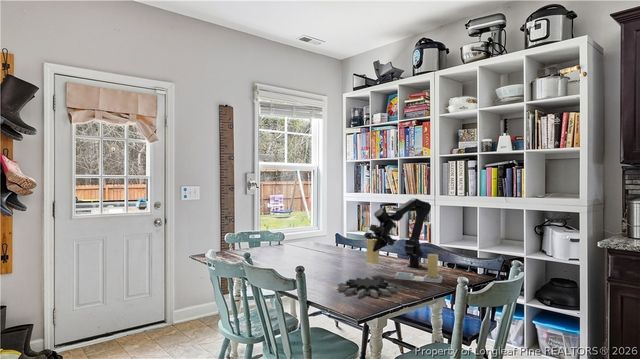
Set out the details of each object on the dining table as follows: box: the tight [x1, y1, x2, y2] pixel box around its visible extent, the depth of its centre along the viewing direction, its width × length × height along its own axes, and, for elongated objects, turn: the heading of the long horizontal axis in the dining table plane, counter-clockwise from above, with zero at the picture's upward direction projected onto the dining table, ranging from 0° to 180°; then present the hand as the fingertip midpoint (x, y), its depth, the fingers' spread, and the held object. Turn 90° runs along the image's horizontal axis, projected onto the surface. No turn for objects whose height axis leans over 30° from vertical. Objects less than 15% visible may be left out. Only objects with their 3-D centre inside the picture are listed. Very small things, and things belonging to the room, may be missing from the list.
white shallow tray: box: [393, 271, 443, 284], centre depth 199 cm, size 9×23×2 cm, turn 67°
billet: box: [366, 238, 380, 265], centre depth 212 cm, size 4×4×12 cm
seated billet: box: [427, 253, 439, 279], centre depth 196 cm, size 4×4×12 cm
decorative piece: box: [336, 276, 400, 299], centre depth 181 cm, size 30×4×30 cm
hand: (370, 250), depth 211 cm, fingers closed on billet, 4 cm apart
